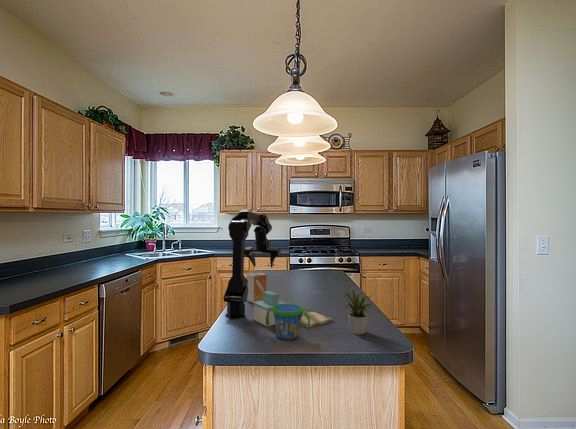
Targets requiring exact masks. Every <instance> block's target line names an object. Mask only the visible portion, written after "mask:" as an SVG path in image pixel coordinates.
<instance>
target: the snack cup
mask: <svg viewBox="0 0 576 429" xmlns="http://www.w3.org/2000/svg"><path fill="white" fill-rule="evenodd" d="M271 310H272V311H273V313H274V319H275V324H274V325H275V327H274V328H275V334H276V337H278V338H279V339H280V340H289V341H290V340H291V341H292V340H294V339H296V338H298V337H299V331H300V326H301V325H300V321H301V317H302V314H305V316H306V317H307V319H308V327H306V330H309V328H310V327H309V326H310V318H309V315H308V313H309V312H308V311H306V310H305V309H304V308H303V307H302V306H301V305H299V304H296V303H295V304H294V303H288V304H278V305H275V306H274V307H272V308H271V309H269V310H268V312H267V314H266V325H268V324H269V317H268V315H269V312H270V311H271Z"/></svg>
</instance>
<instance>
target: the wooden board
mask: <svg viewBox="0 0 576 429" xmlns="http://www.w3.org/2000/svg"><path fill="white" fill-rule="evenodd" d="M307 313H308V315H309V318H310V326H309V328H312V327H315V326H318V325H323V324H326V323H327V324H328V323H330V322H333V318H331V317H328V316H326V315H323V314H320V313H319V312H315V311H309V312H307ZM300 326H303V327H304V328H307V327H308V319H307V317H306V316H305V314H304V313H302V317H301V321H300Z"/></svg>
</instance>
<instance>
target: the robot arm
mask: <svg viewBox="0 0 576 429" xmlns="http://www.w3.org/2000/svg"><path fill="white" fill-rule="evenodd" d="M252 226H255V227H254V229H253V233H254V238H255V241H254V244H255V247H254V246H246V247H245V241H246V239H247V238H248V237H249V233H250V232H249V231H250V230H251V227H252ZM227 229H228V235H229V237H230V239H231V240H232V261H231V262H232V266H231V267H232V270H231V271H232V272H231V276H230V279H229V280H228V282H227V287H226V289H225V292H224V295H223V297H222V298H223V302H224V303H225V302H226V313H225V316H226V317H227V318H229V319H231V320H236V319H239V318H245V317H246V305H245V302H248V301H247V296H248V280H247V279H246V277H245V275H244V274H245V272H244V271H245V270H244V269H245V257H247V258H248V260H249V261H250V262H251V263H252V266H253V267H255V268H256V266H257V264H256V263H257V262H256V257H255V255H256V254H269V255H270V256H269V263H270V267H271V268H273V266H274V264H275V263H274V262H275V259H276V258H277V257H279V256H280V255H281V253H282V249H281V247H272V248H271V246H272V245H271V244H272V241H271V240H268V238H267V235H268V234H269V233H270V232H271V231H272V229H273V226H272V224H271V223H270V221H269V217H268V216H267V214H266V213H255V212H252V211H250V210H239V211H238V213H237V214H236V215H235V216H233V217H232V218H231V220H230V221H229V223H228V228H227ZM269 248H270V249H269Z"/></svg>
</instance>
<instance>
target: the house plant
mask: <svg viewBox="0 0 576 429" xmlns="http://www.w3.org/2000/svg"><path fill="white" fill-rule="evenodd" d="M341 289H342V290H344V291H345V292H346V293H345V292H343V294H344V295H343V294H342V296H343V297H345V298H346V297H348V298H346V299H347V301H346V302H345V304H346V305H345V307H344V309H343V311H345V310H347V309H348V310H350V311H349V313H348V314H347V317H348V322H349V329H350V330H349V331H350V333H351V334H355V335H363V334H366V330H367V325H368V317H369V315H368V314H367V310H369V309H370V308H372V304H370V303H369V304H366V303H367V301H368V300H369V299H370V298H371V297H372V296H373V295H375V294H376V292H374V293H372V294H370V295H368V296H366V293H367V292H366V290H365V291H364V294H363V295H362V298H361V300H360V294H361V293H362V291H360V290H361V289H359V290H358V293H357V295H356V292H355V291H354V289H353V288H350V290H351V293H352V297H351V295H350V293H349V292H348V290H346V289H345V288H341ZM345 295H346V296H345ZM350 301H351V302H350ZM340 305H341V306H342V305H343V306H344V304H342V303H341V304H340ZM368 306H369V307H368ZM350 308H351V309H350Z"/></svg>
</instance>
